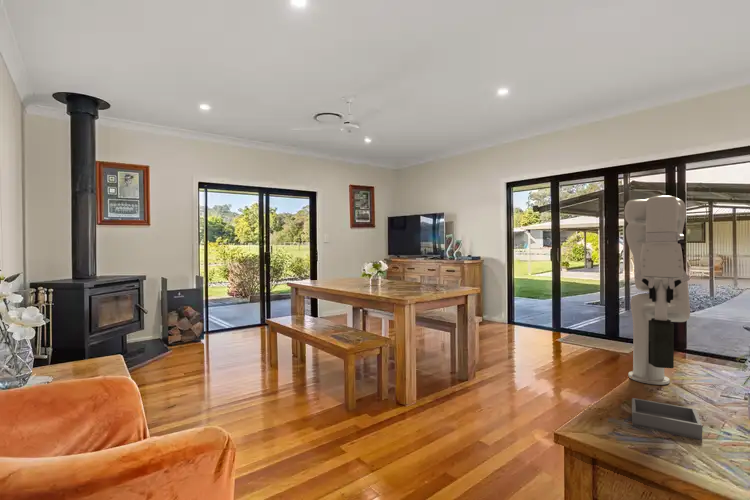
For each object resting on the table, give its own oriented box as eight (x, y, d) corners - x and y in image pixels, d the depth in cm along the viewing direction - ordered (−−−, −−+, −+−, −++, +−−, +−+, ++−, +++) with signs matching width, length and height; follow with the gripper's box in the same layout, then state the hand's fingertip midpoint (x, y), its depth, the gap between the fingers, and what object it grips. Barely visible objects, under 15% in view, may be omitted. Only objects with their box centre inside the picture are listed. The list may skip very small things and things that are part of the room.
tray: (631, 410, 120) (631, 397, 119) (695, 422, 111) (695, 408, 111) (632, 425, 109) (632, 412, 109) (702, 440, 101) (702, 425, 101)
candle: (675, 368, 112) (675, 280, 112) (655, 367, 113) (655, 280, 113) (666, 363, 117) (666, 279, 117) (646, 362, 118) (647, 278, 118)
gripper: (695, 238, 114) (694, 302, 114) (627, 239, 123) (627, 298, 123) (699, 238, 107) (698, 305, 108) (627, 239, 116) (627, 301, 116)
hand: (660, 301), depth 115 cm, fingers closed on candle, 3 cm apart
